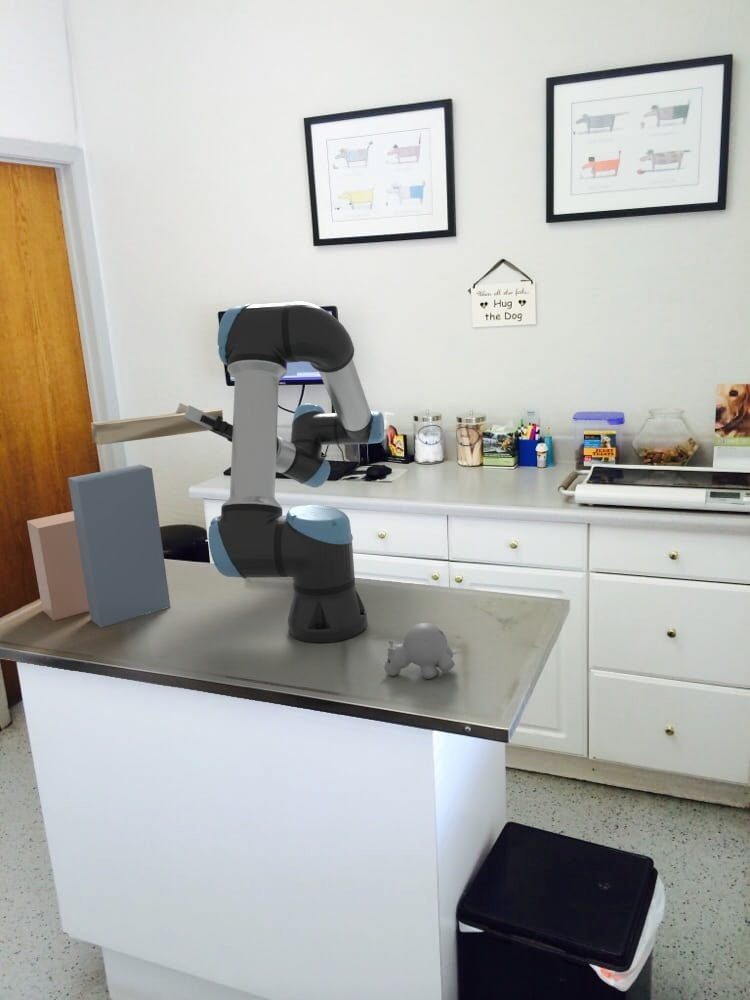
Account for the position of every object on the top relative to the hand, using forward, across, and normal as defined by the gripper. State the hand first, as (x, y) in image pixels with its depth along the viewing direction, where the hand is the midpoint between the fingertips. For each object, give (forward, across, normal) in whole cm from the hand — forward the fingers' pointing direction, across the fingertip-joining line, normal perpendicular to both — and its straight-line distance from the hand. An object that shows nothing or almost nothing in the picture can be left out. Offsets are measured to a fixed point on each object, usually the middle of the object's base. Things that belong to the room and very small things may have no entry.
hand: (182, 410), depth 182 cm
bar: (+2, 0, -7) cm, 7 cm away
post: (-5, -4, -43) cm, 44 cm away
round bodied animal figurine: (-28, -67, -28) cm, 78 cm away
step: (+2, +7, -48) cm, 49 cm away
